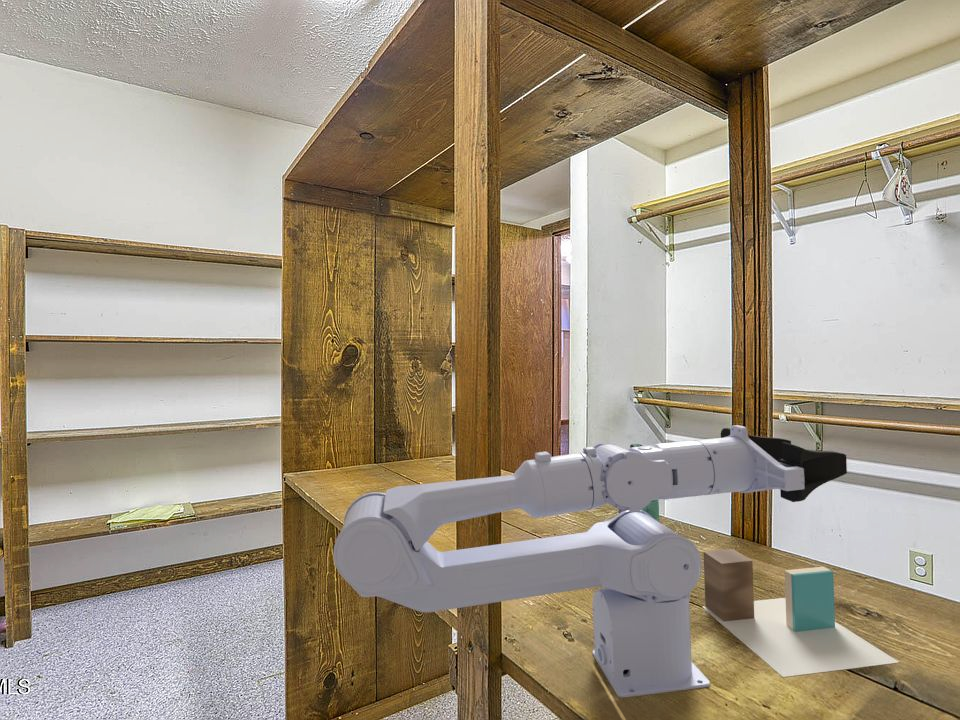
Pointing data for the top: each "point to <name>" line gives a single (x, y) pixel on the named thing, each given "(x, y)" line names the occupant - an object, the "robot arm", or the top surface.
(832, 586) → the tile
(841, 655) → the mat
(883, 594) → the top surface
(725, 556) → the walnut block
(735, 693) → the top surface
